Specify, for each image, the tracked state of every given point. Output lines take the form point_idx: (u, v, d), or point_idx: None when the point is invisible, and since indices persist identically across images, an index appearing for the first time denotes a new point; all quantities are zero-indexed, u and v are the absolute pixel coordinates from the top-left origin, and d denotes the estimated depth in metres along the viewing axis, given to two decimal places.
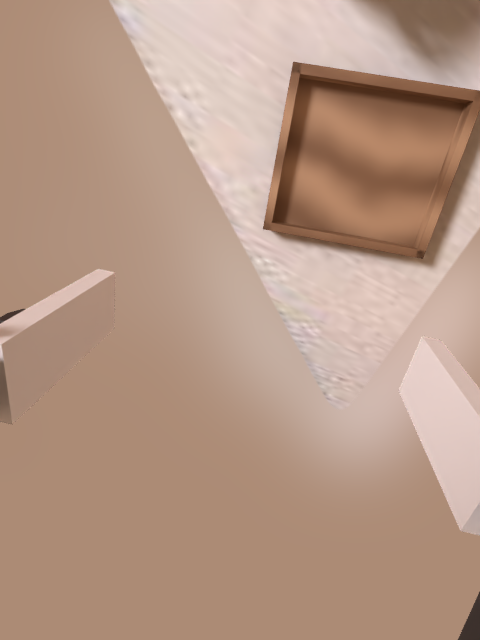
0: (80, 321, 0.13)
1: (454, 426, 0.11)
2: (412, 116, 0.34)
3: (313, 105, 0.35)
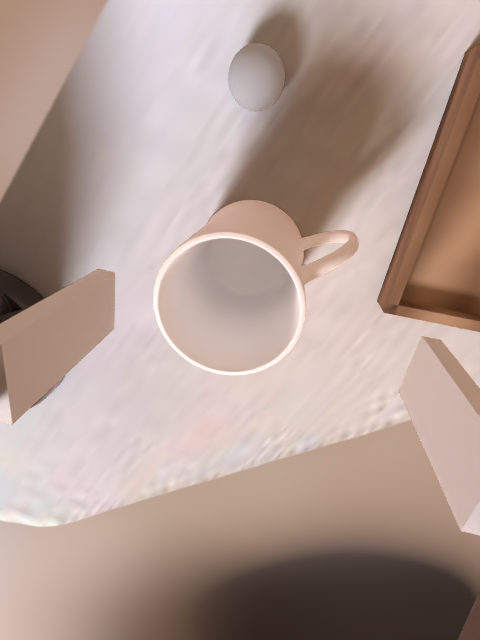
0: (80, 321, 0.13)
1: (454, 426, 0.11)
2: (476, 146, 0.24)
3: (426, 280, 0.28)
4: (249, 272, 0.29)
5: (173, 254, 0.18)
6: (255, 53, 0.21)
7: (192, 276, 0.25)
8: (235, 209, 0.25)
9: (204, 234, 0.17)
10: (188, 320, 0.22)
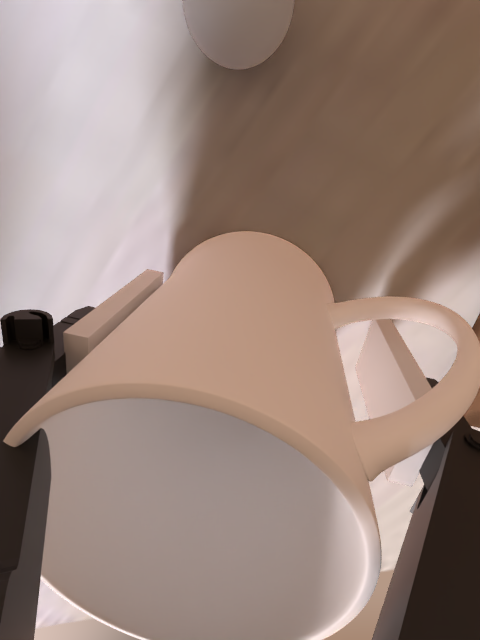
0: None
1: (389, 391, 0.12)
2: None
3: None
4: None
5: (19, 428, 0.07)
6: None
7: None
8: (214, 255, 0.14)
9: (92, 385, 0.06)
10: (116, 490, 0.11)
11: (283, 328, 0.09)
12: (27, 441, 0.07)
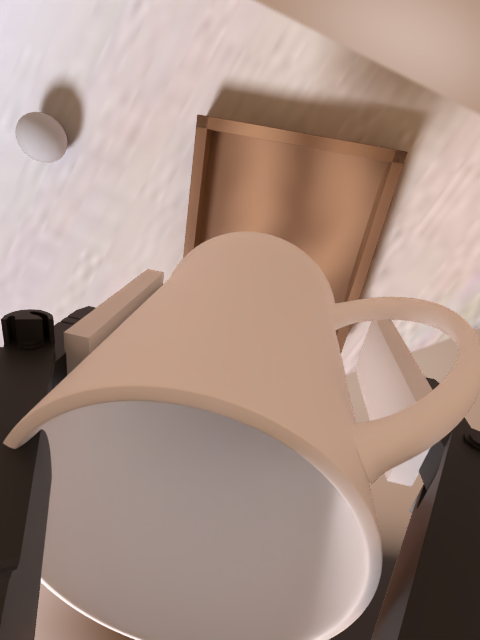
0: None
1: (388, 391, 0.12)
2: (225, 191, 0.29)
3: None
4: None
5: (18, 431, 0.07)
6: (27, 122, 0.27)
7: None
8: (214, 256, 0.14)
9: (91, 387, 0.06)
10: (116, 492, 0.11)
11: (283, 329, 0.09)
12: (27, 441, 0.07)
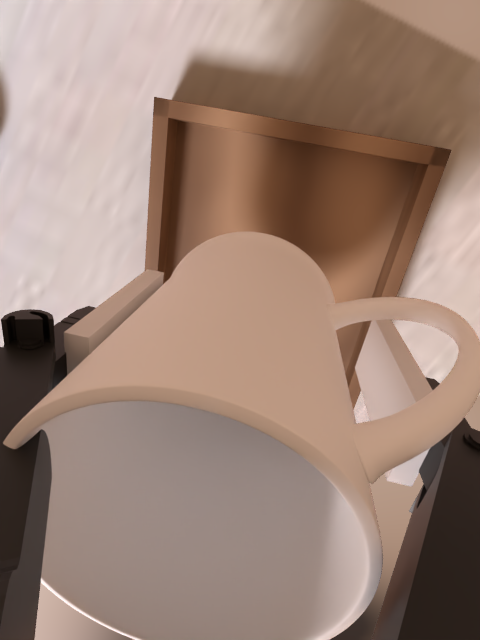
0: None
1: (388, 391, 0.12)
2: (198, 203, 0.22)
3: None
4: None
5: (18, 431, 0.07)
6: None
7: None
8: (214, 256, 0.14)
9: (91, 387, 0.06)
10: (117, 492, 0.11)
11: (283, 329, 0.09)
12: (28, 441, 0.07)
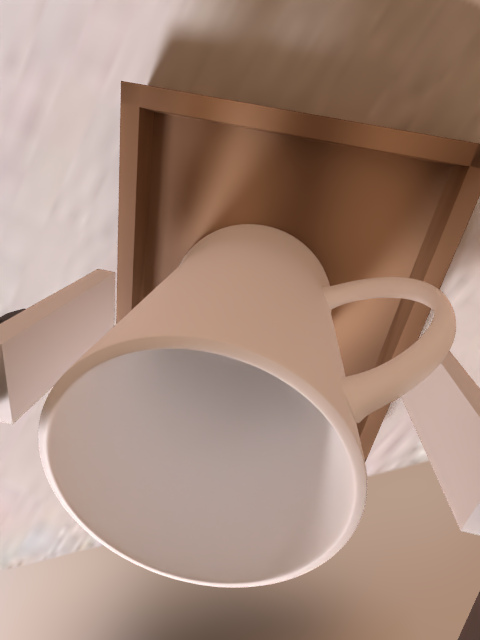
0: (80, 321, 0.13)
1: (454, 426, 0.11)
2: (181, 212, 0.18)
3: None
4: None
5: (63, 381, 0.08)
6: None
7: (152, 358, 0.15)
8: (219, 245, 0.15)
9: (125, 340, 0.07)
10: (137, 454, 0.12)
11: (281, 300, 0.10)
12: None
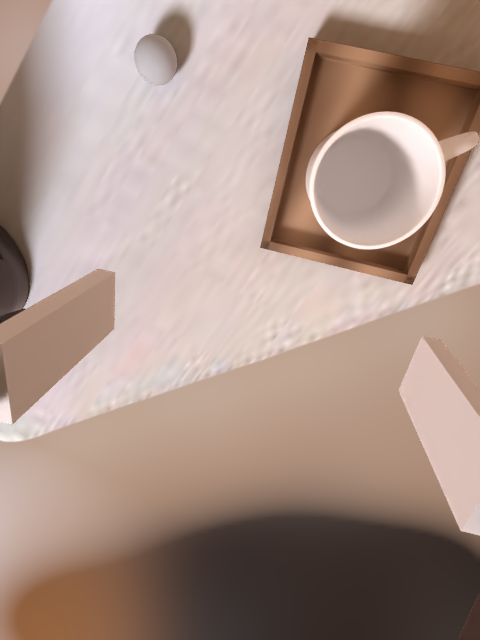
0: (80, 321, 0.13)
1: (454, 426, 0.11)
2: (320, 118, 0.32)
3: (295, 225, 0.36)
4: (351, 193, 0.33)
5: (335, 135, 0.22)
6: (149, 41, 0.29)
7: None
8: None
9: (364, 115, 0.21)
10: (321, 212, 0.26)
11: None
12: None
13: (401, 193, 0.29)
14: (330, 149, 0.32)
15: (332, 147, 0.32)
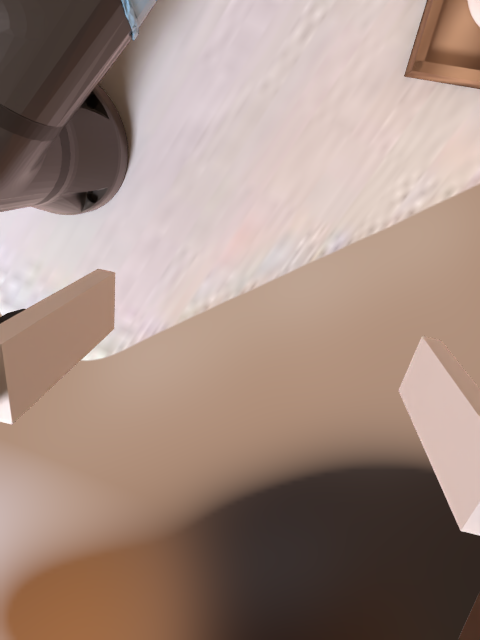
0: (80, 321, 0.13)
1: (454, 426, 0.11)
2: None
3: (448, 45, 0.32)
4: None
5: None
6: None
7: None
8: None
9: None
10: None
11: None
12: None
13: None
14: None
15: None
